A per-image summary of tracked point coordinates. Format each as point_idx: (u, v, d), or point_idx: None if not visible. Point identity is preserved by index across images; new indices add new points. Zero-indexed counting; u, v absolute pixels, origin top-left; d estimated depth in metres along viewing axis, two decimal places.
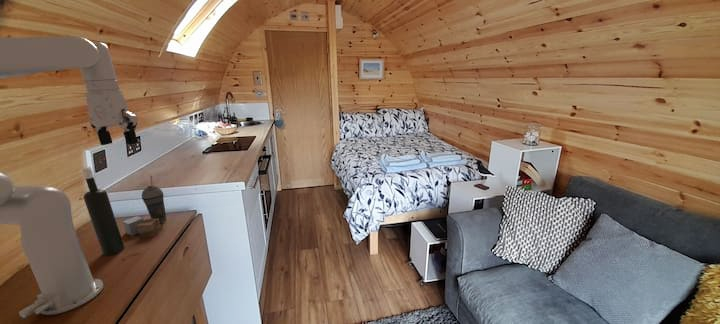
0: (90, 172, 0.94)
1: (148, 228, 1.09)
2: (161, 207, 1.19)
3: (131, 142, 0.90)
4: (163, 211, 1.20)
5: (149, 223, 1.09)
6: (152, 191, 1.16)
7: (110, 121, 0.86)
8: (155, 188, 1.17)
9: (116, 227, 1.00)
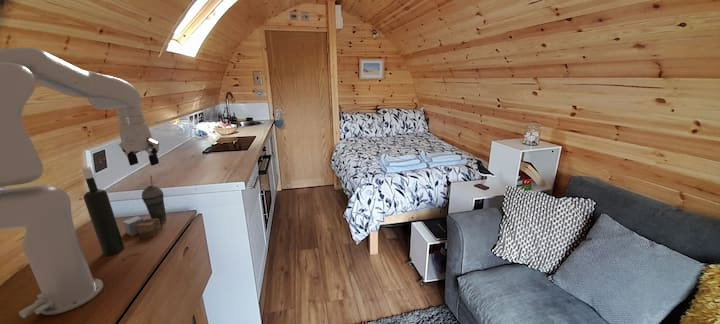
0: (90, 172, 0.94)
1: (148, 228, 1.09)
2: (161, 207, 1.19)
3: (154, 163, 1.13)
4: (163, 211, 1.20)
5: (149, 223, 1.09)
6: (152, 191, 1.16)
7: (138, 147, 1.10)
8: (155, 188, 1.17)
9: (116, 227, 1.00)
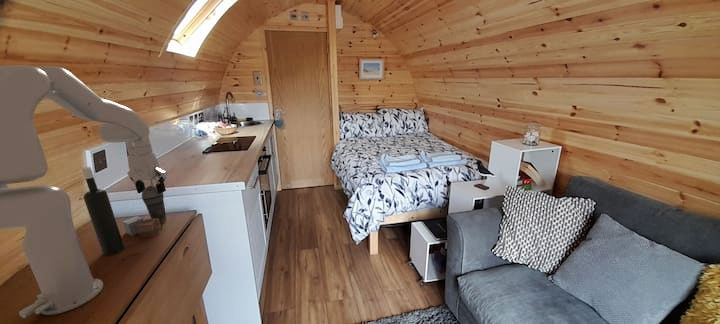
0: (90, 172, 0.94)
1: (148, 228, 1.09)
2: (161, 207, 1.19)
3: (161, 191, 1.16)
4: (163, 211, 1.20)
5: (149, 223, 1.09)
6: (152, 191, 1.16)
7: (146, 177, 1.13)
8: (155, 188, 1.17)
9: (116, 227, 1.00)
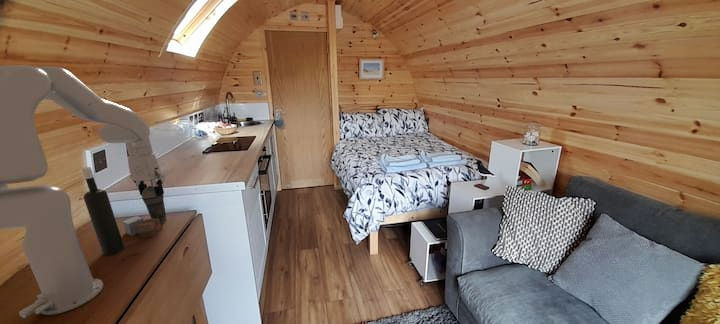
0: (90, 172, 0.94)
1: (148, 228, 1.09)
2: (161, 207, 1.19)
3: (159, 194, 1.17)
4: (163, 211, 1.20)
5: (149, 223, 1.09)
6: (152, 191, 1.16)
7: (146, 177, 1.13)
8: None
9: (116, 227, 1.00)
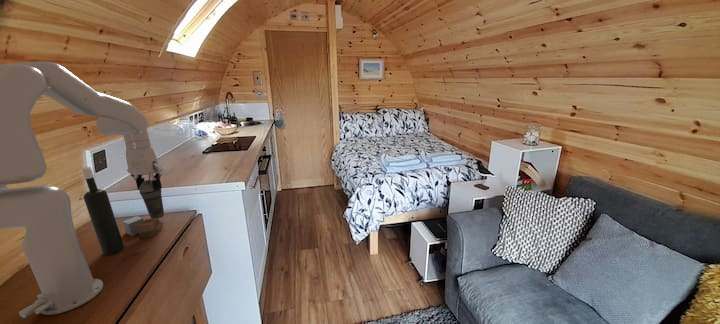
0: (90, 172, 0.94)
1: (148, 228, 1.09)
2: (159, 201, 1.18)
3: (157, 188, 1.16)
4: (161, 206, 1.19)
5: (149, 223, 1.09)
6: (150, 185, 1.15)
7: (144, 171, 1.12)
8: None
9: (116, 227, 1.00)
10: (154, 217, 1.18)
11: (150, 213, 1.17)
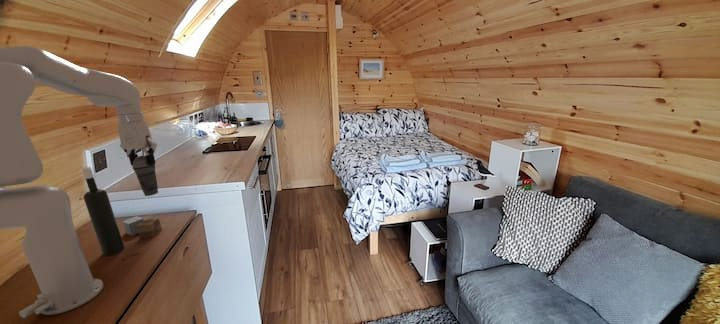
0: (90, 172, 0.94)
1: (148, 228, 1.09)
2: (152, 178, 1.15)
3: (151, 163, 1.13)
4: (155, 182, 1.16)
5: (149, 223, 1.09)
6: (143, 160, 1.12)
7: (137, 145, 1.09)
8: None
9: (116, 227, 1.00)
10: (148, 194, 1.15)
11: (144, 189, 1.15)
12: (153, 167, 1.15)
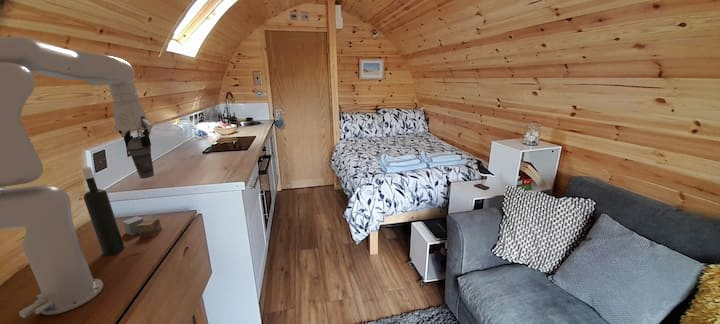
0: (90, 172, 0.94)
1: (148, 228, 1.09)
2: (148, 160, 1.13)
3: (146, 145, 1.11)
4: (150, 165, 1.15)
5: (149, 223, 1.09)
6: (138, 142, 1.10)
7: (132, 126, 1.07)
8: None
9: (116, 227, 1.00)
10: (143, 176, 1.14)
11: (139, 172, 1.13)
12: (149, 149, 1.13)
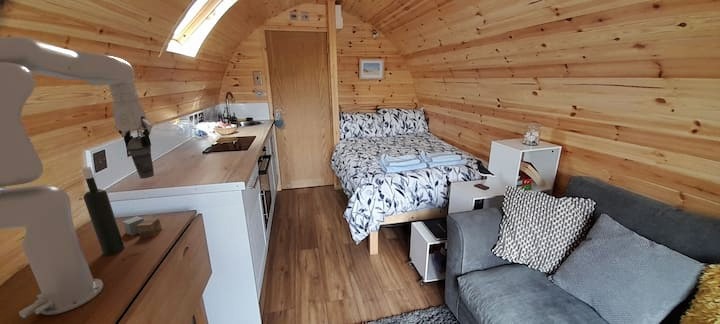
0: (90, 172, 0.94)
1: (148, 228, 1.09)
2: (148, 160, 1.13)
3: (146, 145, 1.11)
4: (150, 165, 1.15)
5: (149, 223, 1.09)
6: (138, 142, 1.10)
7: (132, 126, 1.07)
8: None
9: (116, 227, 1.00)
10: (143, 176, 1.14)
11: (139, 172, 1.13)
12: (149, 149, 1.13)
